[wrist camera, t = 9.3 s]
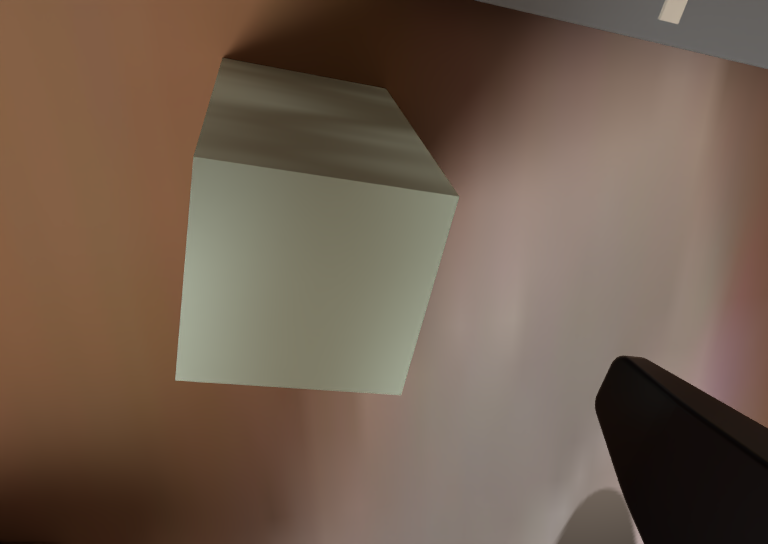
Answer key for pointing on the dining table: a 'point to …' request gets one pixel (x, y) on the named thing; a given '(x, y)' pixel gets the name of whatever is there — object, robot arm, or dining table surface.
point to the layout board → (669, 23)
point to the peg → (308, 235)
